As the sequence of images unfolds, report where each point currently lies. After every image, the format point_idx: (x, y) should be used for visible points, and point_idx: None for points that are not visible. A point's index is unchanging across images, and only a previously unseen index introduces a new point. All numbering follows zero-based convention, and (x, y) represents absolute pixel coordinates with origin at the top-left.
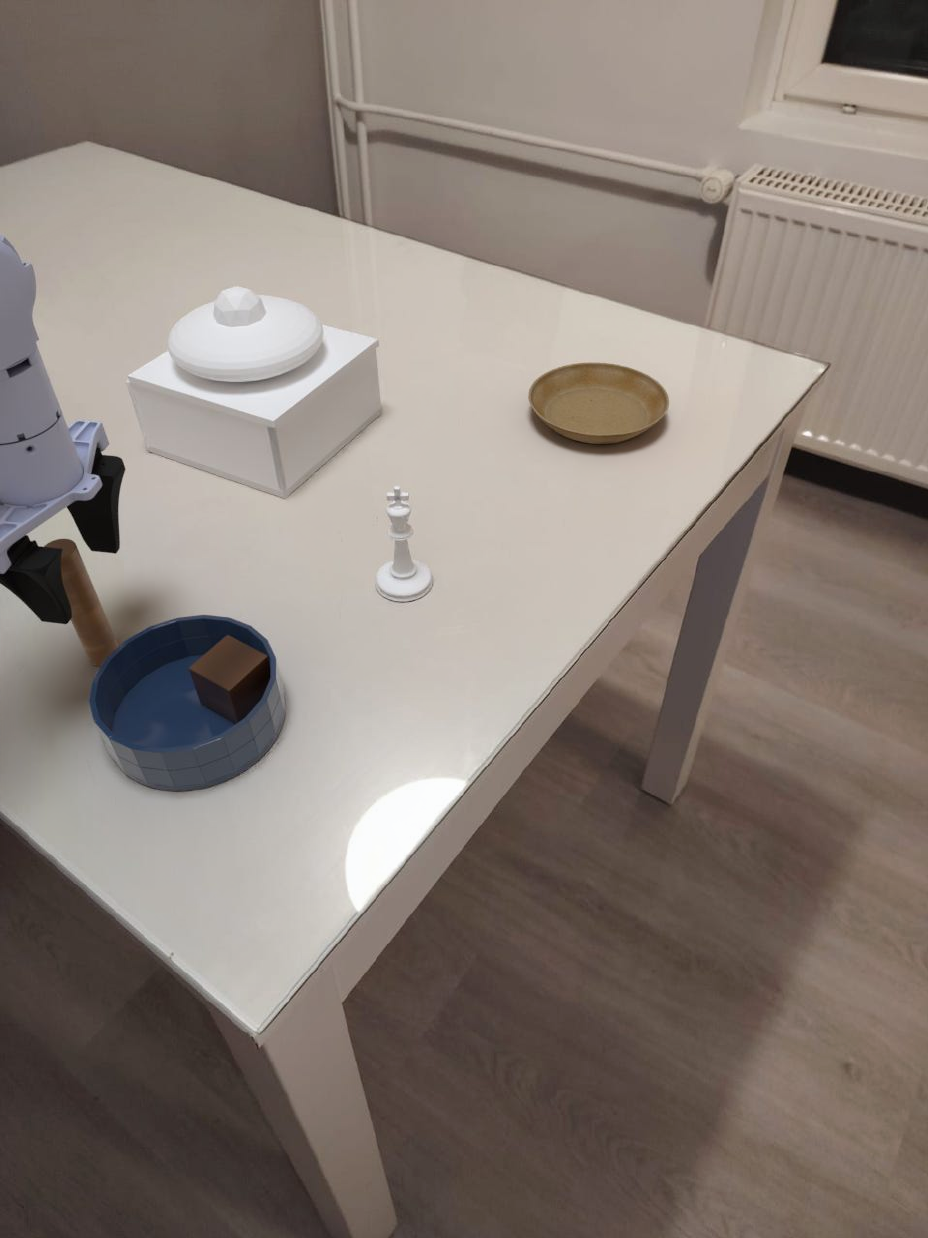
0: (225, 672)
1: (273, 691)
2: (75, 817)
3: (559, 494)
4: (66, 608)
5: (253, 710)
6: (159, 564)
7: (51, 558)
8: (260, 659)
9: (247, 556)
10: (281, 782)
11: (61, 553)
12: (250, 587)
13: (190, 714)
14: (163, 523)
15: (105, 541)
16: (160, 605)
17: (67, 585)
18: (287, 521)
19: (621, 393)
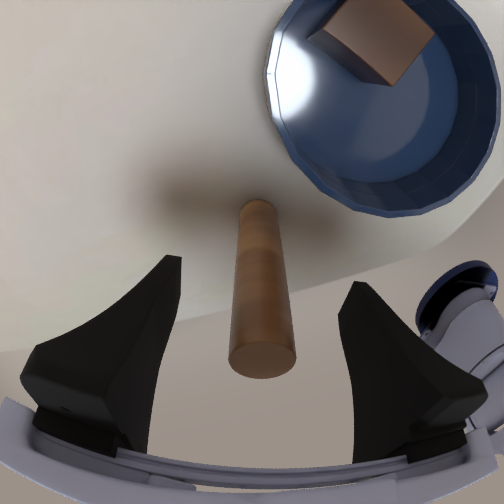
0: (405, 33)
1: None
2: (458, 196)
3: None
4: (379, 298)
5: (460, 11)
6: (97, 197)
7: (476, 397)
8: None
9: (69, 92)
10: None
11: (437, 388)
12: (124, 64)
13: (377, 94)
14: (42, 214)
15: (174, 285)
16: (166, 173)
17: (290, 309)
18: (16, 72)
19: None
